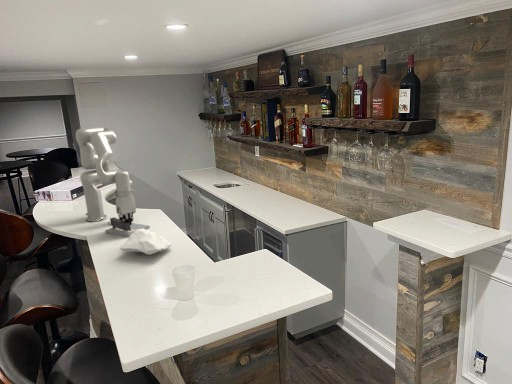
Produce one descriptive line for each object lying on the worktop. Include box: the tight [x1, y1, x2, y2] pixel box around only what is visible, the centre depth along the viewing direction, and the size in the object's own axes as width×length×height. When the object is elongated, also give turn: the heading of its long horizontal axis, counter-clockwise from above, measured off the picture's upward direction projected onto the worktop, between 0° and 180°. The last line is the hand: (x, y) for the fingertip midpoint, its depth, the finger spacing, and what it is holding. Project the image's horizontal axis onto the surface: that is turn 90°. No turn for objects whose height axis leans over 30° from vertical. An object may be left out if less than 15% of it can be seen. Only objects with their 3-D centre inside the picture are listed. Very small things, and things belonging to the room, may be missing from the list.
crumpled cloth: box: [119, 228, 172, 255], centre depth 191 cm, size 24×35×9 cm
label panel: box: [104, 222, 151, 238], centre depth 224 cm, size 19×16×3 cm
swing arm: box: [109, 217, 131, 231], centre depth 219 cm, size 19×3×4 cm, turn 47°
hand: (128, 224), depth 219 cm, fingers closed
